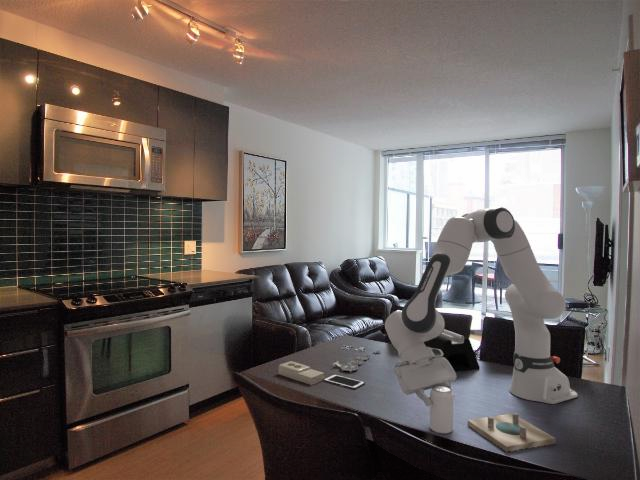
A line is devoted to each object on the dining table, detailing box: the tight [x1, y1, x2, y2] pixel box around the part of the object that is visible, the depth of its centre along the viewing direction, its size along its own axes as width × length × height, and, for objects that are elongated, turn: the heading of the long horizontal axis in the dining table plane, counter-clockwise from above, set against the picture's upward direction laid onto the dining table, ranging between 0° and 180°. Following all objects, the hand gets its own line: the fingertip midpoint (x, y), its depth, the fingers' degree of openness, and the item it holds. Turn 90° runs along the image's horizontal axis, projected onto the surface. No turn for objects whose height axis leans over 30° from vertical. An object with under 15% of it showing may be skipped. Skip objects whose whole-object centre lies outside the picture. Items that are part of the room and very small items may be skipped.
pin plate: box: [467, 412, 556, 453], centre depth 119 cm, size 16×16×4 cm
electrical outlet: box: [278, 360, 325, 386], centre depth 164 cm, size 7×4×18 cm
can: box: [429, 385, 454, 435], centre depth 121 cm, size 6×6×12 cm
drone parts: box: [332, 343, 382, 373], centre depth 189 cm, size 23×35×3 cm, turn 149°
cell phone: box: [322, 373, 366, 391], centre depth 158 cm, size 8×15×1 cm, turn 53°
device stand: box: [424, 328, 480, 373], centre depth 181 cm, size 22×22×15 cm
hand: (441, 401), depth 121 cm, fingers open, 8 cm apart
